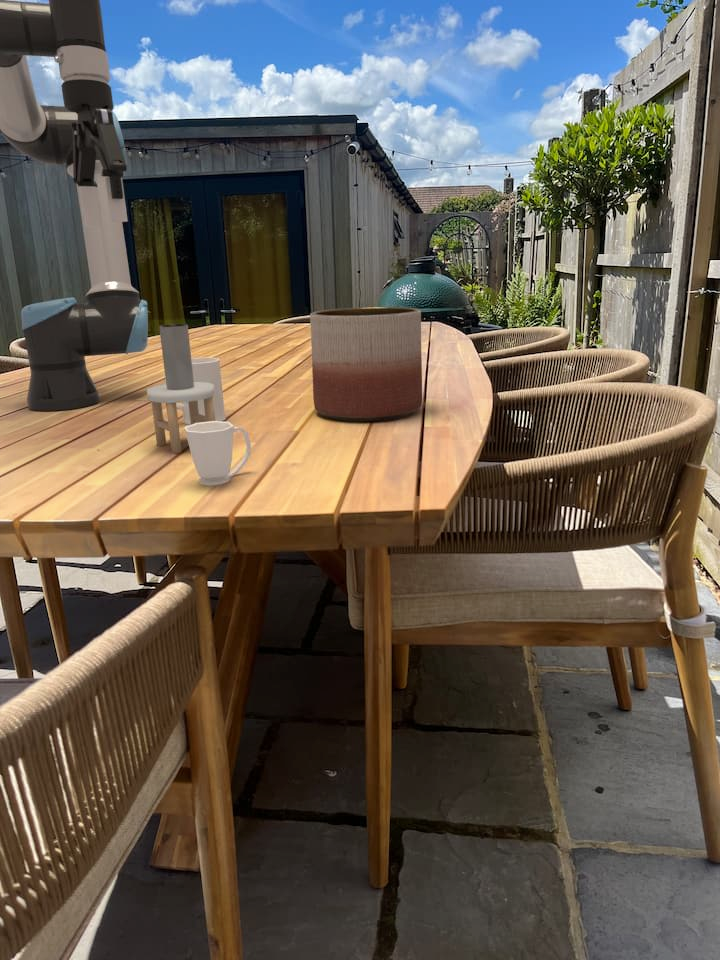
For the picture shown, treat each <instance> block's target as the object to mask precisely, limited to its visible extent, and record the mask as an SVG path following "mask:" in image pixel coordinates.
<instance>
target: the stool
mask: <svg viewBox="0 0 720 960" xmlns="http://www.w3.org/2000/svg"><path fill="white" fill-rule="evenodd" d="M146 392H147V393H146V394H147V400H148V401H149V402H151V410H152V416H153V417H152V418H153V425H154V432H155V442H156V446H157V447H161V446H162V447H163V445H164V446H166V445H167V439H166V431H168V432H169V440H170V450H171V454H180V453H182V444H181V436H180V425H179V418H178V409H177V408H176V404H177V403H178V404H180V403H182V402H188V404H189V413H190V422H191V425H192V424H195V423H200V422H209V421H215V412H214V402H213V396H214V395H215V392H214V385H213V384H211V383H206V382H194V387H192V388H188V389H181V390H171V389H167V386H166V384H164V383H163V384H158V385H155V386H152V387H151V386H150V387H149V388H147V389H146ZM203 399H204V409H205V416H204V415H201V414H199V410H198V401H197V400H203ZM162 404H165V408H166V415H167V416H166V417H167V420H164V416H163V405H162Z"/></svg>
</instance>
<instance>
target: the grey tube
mask: <svg viewBox="0 0 720 960" xmlns="http://www.w3.org/2000/svg"><path fill="white" fill-rule="evenodd" d="M159 335H160V345H161V352H162V358H163V359H162V360H163V369H164V377H165V380H166V386H167V389H171V390H181V389H188V388H192V387H194V379H193V370H192V360H191V358H192V354H191V344H190V333H189V325H188V324H186V323H179V324H178V323H174V324H161V325H159Z"/></svg>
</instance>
